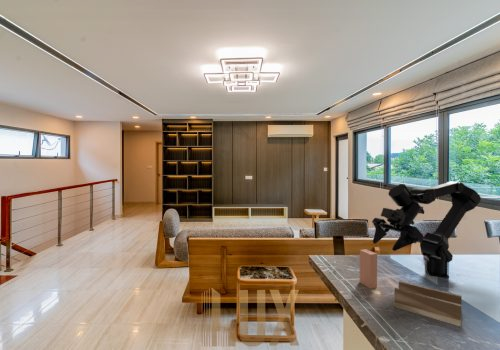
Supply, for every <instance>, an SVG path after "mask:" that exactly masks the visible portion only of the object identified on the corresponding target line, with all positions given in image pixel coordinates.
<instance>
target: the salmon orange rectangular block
mask: <svg viewBox="0 0 500 350" xmlns="http://www.w3.org/2000/svg"><path fill="white" fill-rule="evenodd" d="M359 283H360V284H362V285H363V286H365V287H367V288H368V289H371V290H372V289H375V288H376V289H377V288H378V254H377V253H376V252H374V251H372V250H369V249H366V248H365V249H359Z"/></svg>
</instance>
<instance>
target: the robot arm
mask: <svg viewBox="0 0 500 350" xmlns="http://www.w3.org/2000/svg"><path fill="white" fill-rule="evenodd" d="M447 195H448V196H449V197H450V198H451V200H450V201H451V204H452V206H451V207H450V209H449V210H448V211H447V213H446V214H445V216H444V218H442V220H441V222H440V223H439V225H438V226H437V228H436V229H435V230H434V232H432V233H431V232H426V233H424V234H425V236H424V234H423V233H422V232H421V231H420V230H419V228H418V227H417V226H415V225H414V224H415V221H414V220H415V219H416V217H417V216H418V214H422V215H424V214H425V210H424V206H421V205H422V204H423V205H430V204H431V203H433V202H435V201H436V199H437V198H441V197H443V196H447ZM388 196H389V197H390V199H392V201H393V202H394V203H395V204H396V206H397V207H400V209H399V208H396V209H393V208H389V207H388V208H387V207H383V208H382V210H381V213H380V217H383V218H380V217H374V218H373V219H372V221H371V224H372V225H373V227H374V229H375V231H374V236H373V239H372V243H373V244H375V245H376V244H377V243H379V241H380V240H382V239H383V238H384V237H386V235H387V233H389V232H390V231H394V232H398V233H400V236H399V238H397V240H396V242H395V243H394V245H393V247H392V251H393V252H395V251H396V252H397V251H398V250H400V249H403V248H405V247H407V246H409V245H412V244H417V243H419V244H420V245H419V247H420V250H421V254H422V256H427V259H425V260H424V271H426V273H427V274H428V275H429V276H433V277H442V278H443V277H444V278H449V277H450V276H449V274H448V263H451V261H453V257H454V256H453V254H452V253H451V252H450V250H449V248H450V245H449V239H450V237H451V236H452V234H453V233H454V232H455V230H456V228H457V226H458V225H459V224H460V222H461V220H462V219H463V218H464V216H465V215H466V213H467V212H470V211H472V210H474V209H476V207H478V205H479V204H480V202H481V199H482V198H481V195H480V194H479V193H478V192H477V191H476V190H474V189H473V188H471V187H469V186H467V185H465V183H464V182H461V181H450V180H449V181H447V182H446V183H441V184H438V185H433V186H430V187H413V188H411V189H408V187H407V185H406V184H404V183H399V184H398V185H397V186H394V187H392V188H391V189H389V190H388ZM420 204H421V205H420ZM384 218H385V219H386V220H385V219H384Z"/></svg>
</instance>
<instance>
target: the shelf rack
mask: <svg viewBox="0 0 500 350" xmlns="http://www.w3.org/2000/svg"><path fill="white" fill-rule="evenodd" d="M393 298H394V300H393V307H394V308H397V309H400V310H404V311H406V312H410V313H414V314H416V315H419V316H424V317H426V318H430V319H434V320H437V321H441V322H444V323H448V324H451V325H454V326H457V327H462V304H463V302H462V299H463V298H462V295H460V294H456V293H451V292H447V291H442V290H438V289H435V288H431V287H427V286H421V285H418V284H414V283H409V282H406V281H401V280H399V281H398V288H396V287H395V288H394V297H393Z"/></svg>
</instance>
